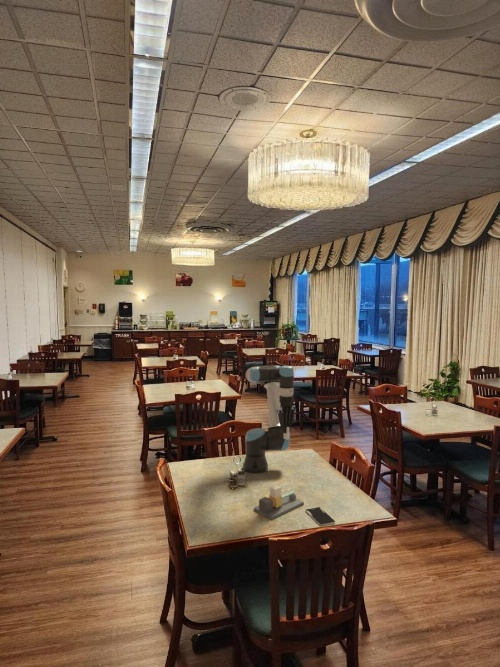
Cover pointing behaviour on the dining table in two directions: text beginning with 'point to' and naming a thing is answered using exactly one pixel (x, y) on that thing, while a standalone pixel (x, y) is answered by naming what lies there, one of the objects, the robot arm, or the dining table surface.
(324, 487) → the dining table surface
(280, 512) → the comb base
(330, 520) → the smartphone
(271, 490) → the sleeve
